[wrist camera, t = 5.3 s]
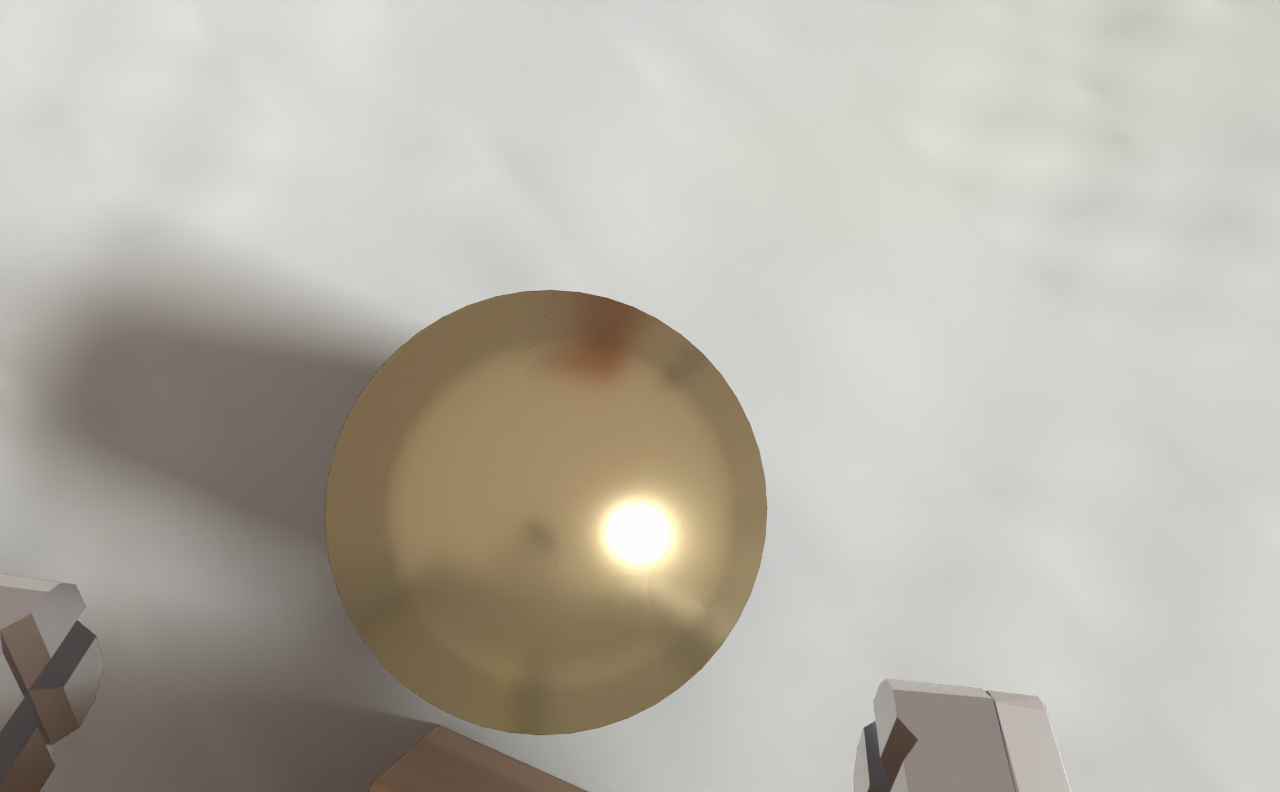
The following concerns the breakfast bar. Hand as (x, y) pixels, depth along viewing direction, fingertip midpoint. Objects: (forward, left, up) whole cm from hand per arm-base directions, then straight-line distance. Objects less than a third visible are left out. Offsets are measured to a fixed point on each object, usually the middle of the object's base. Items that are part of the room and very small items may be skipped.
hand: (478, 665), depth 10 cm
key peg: (+2, 0, -7) cm, 7 cm away
